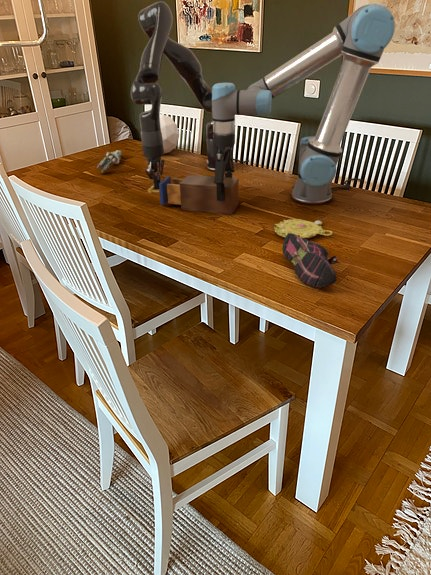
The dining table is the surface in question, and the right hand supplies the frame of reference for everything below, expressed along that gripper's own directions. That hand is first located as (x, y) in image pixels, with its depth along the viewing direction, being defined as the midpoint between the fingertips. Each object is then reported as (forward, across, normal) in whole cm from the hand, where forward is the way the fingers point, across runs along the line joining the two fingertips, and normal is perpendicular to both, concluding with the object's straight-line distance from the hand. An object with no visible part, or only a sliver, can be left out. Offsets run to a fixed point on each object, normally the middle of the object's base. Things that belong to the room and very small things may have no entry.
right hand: (224, 195), depth 162 cm
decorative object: (+5, +14, +30) cm, 34 cm away
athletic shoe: (+5, +39, +36) cm, 54 cm away
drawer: (+4, 0, -18) cm, 18 cm away
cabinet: (+5, 0, -6) cm, 8 cm away
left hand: (0, 0, -27) cm, 27 cm away
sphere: (+5, -64, -52) cm, 83 cm away
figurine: (+5, -40, -68) cm, 79 cm away
